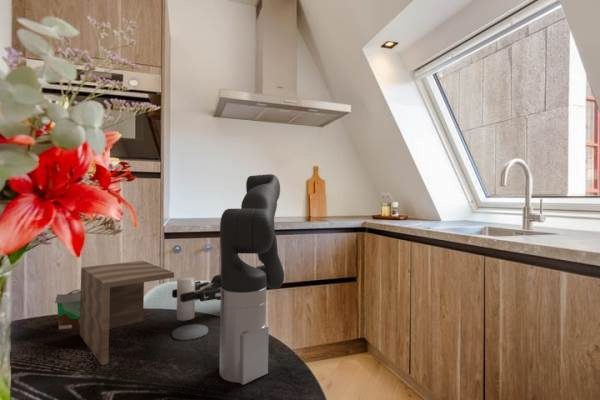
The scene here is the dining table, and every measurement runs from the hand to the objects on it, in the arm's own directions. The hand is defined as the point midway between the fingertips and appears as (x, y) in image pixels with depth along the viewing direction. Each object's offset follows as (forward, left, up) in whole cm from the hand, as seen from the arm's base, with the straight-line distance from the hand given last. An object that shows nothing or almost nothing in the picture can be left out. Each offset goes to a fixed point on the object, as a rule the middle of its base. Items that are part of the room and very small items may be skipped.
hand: (177, 296), depth 88 cm
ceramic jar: (0, -3, -6) cm, 7 cm away
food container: (+18, +18, -8) cm, 27 cm away
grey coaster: (-7, -1, -8) cm, 11 cm away
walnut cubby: (0, +13, -8) cm, 15 cm away
